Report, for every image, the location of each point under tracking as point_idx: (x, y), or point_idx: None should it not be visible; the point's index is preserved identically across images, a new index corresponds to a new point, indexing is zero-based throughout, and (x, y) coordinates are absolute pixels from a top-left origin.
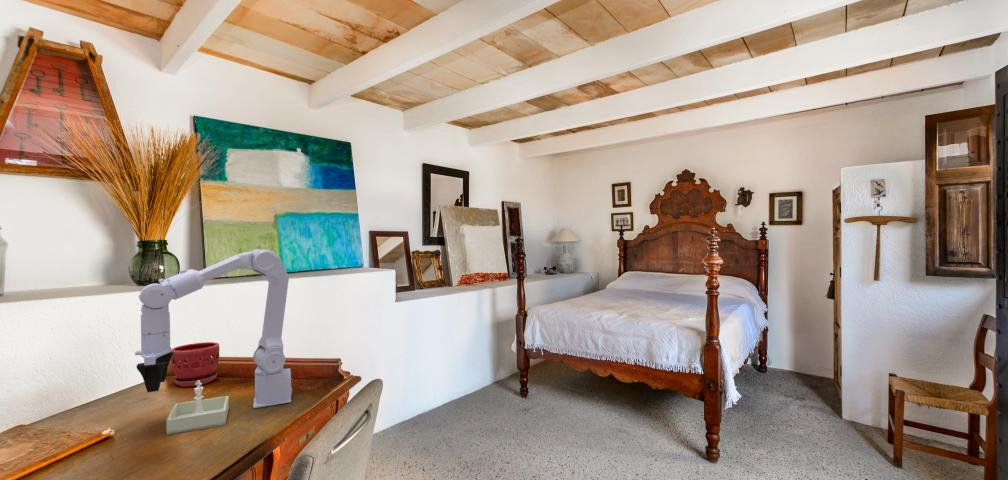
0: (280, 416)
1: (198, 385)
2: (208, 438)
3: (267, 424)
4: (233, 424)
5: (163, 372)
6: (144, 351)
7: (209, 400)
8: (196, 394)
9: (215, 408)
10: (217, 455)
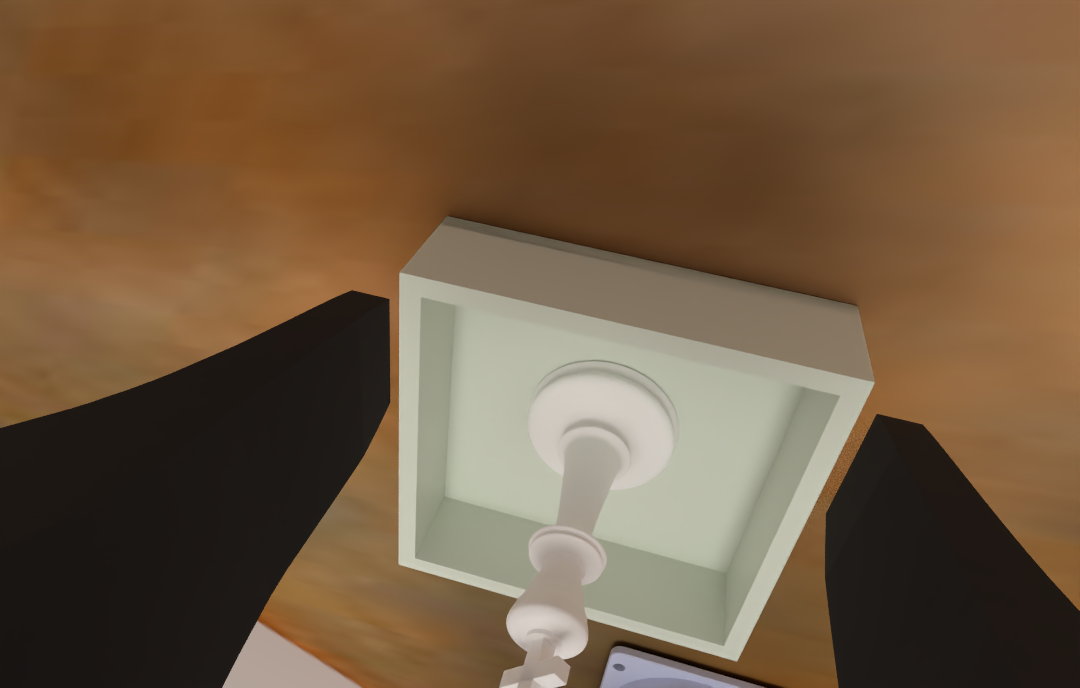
0: (414, 660)
1: (526, 659)
2: None
3: (337, 601)
4: None
5: (854, 650)
6: None
7: (758, 566)
8: (545, 570)
9: (744, 534)
10: (48, 380)
